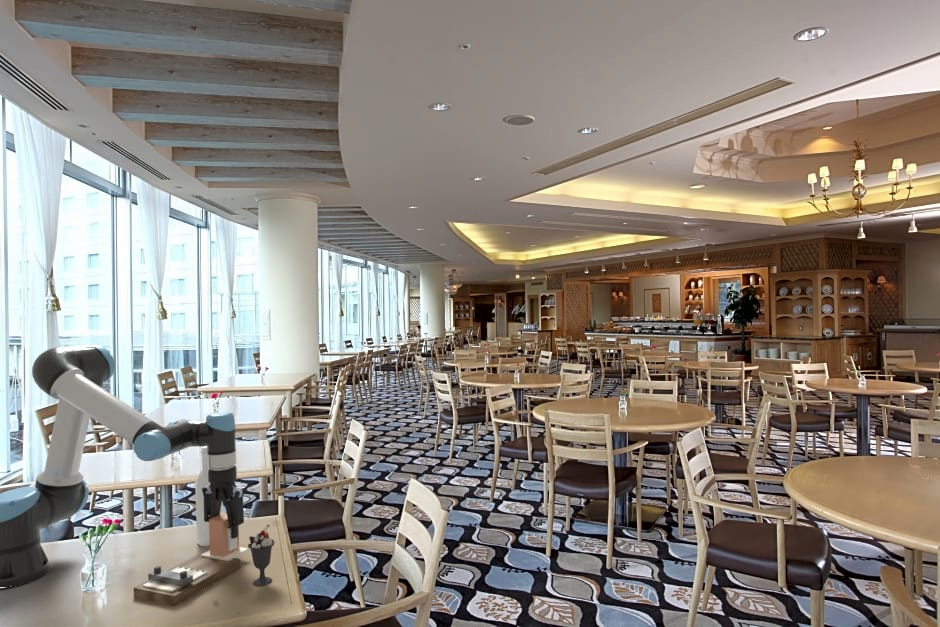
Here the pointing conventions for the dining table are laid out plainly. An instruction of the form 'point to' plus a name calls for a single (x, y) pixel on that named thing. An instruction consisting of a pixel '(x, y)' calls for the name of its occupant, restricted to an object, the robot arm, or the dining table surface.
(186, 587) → the board
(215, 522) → the stub
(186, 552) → the dining table surface
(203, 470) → the bottle
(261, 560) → the sundae
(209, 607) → the dining table surface
